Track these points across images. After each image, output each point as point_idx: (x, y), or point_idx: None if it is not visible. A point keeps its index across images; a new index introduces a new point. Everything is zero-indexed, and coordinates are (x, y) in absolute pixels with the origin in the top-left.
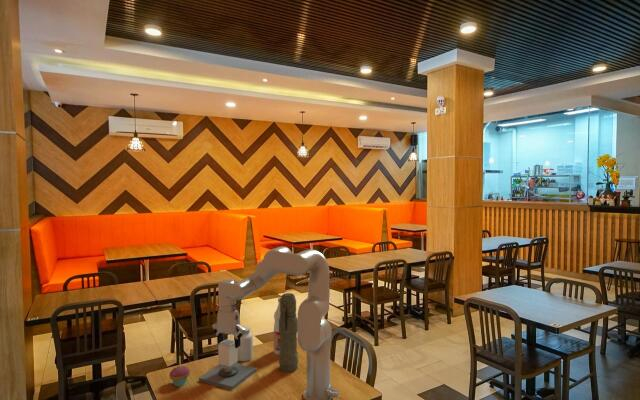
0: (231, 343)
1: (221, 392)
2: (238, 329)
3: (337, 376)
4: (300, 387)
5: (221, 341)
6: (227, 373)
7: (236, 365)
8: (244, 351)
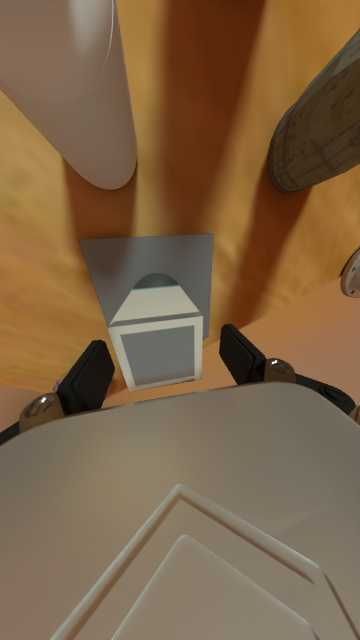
0: (190, 355)
1: None
2: (288, 395)
3: None
4: (334, 255)
5: (104, 357)
6: None
7: (144, 250)
8: (119, 158)
